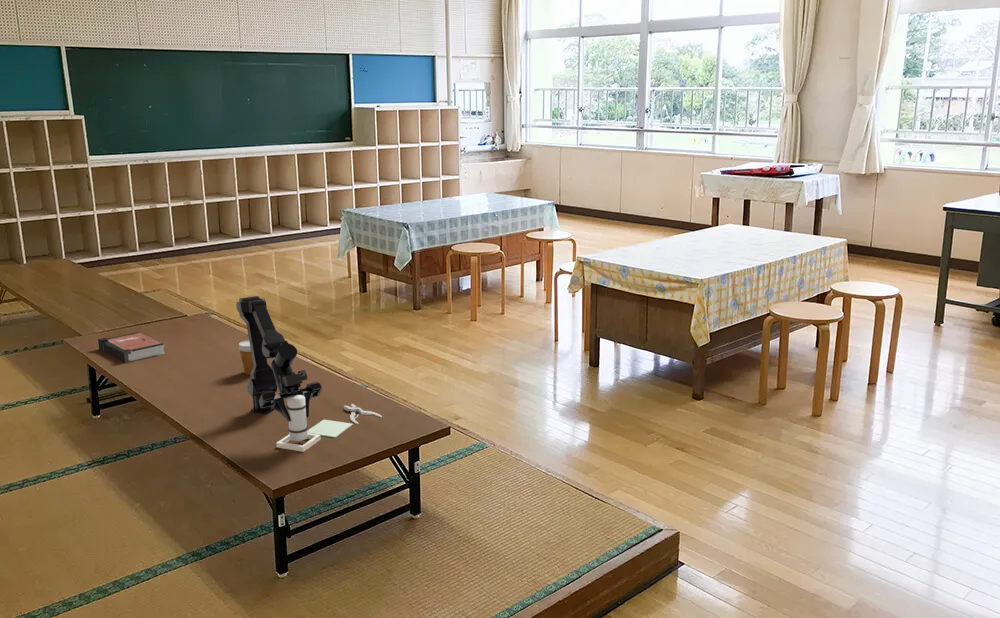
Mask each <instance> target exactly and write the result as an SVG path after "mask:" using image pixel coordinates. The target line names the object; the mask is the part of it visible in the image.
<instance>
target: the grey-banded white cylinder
mask: <svg viewBox="0 0 1000 618" xmlns="http://www.w3.org/2000/svg"><path fill="white" fill-rule="evenodd" d="M286 403H287V404H286V408H287V411H288V413H289V416H290V420H291V421H290V422H288V429H287V430H288V435H289V436H290V441H292V442H301V441H305V440H306V439H307V437H308V436H307V431H308V430H309V429H308V424H307V420H308V419H307V417H306V403H305V397H304V396H302V395H293V396H290V397H288V398H286ZM307 440H308V439H307Z"/></svg>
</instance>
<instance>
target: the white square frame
mask: <svg viewBox="0 0 1000 618" xmlns="http://www.w3.org/2000/svg"><path fill="white" fill-rule="evenodd" d="M307 436H308V437H307V440H308V441H307V442H305V443H304V444H303V445H302V444H297V443H296V444H295V443H290V441H291V440H290V436H289V434H288V435H286V436H284V437H283V438H282V439H280V440H278V441H276V448H280V449H285V450H291V451H297V452H303V453H304V452H306V451H307V450H308V449H310V448H311V447H312V446H314V445H315V444H317V443H318V442H320V441H321V439H322V437H321V435H317V434H311V433H307Z"/></svg>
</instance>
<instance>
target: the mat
mask: <svg viewBox="0 0 1000 618" xmlns="http://www.w3.org/2000/svg"><path fill="white" fill-rule="evenodd" d="M353 426H354V423H350V422H343V421H335V420H330V419H322V420H321V421H319V422H318V423H316V424H314V425H313V426H312V427H311V428H309V429H307V433H311V434H317V435H321V436H323V437H330V438H335V439H336V438H337V437H339V436H340V435H342V434H343V433H344V432H346V431H347V430H348V429H349V428H350V427H353Z"/></svg>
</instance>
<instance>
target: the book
mask: <svg viewBox="0 0 1000 618" xmlns="http://www.w3.org/2000/svg"><path fill="white" fill-rule="evenodd" d="M97 342H98V343H97V344H98V350H99V351H100V352H105V353H107V354H108V355H110V356H113V357H115V358H117V359H119V360H120V361H121V362H122V363H124V364H127V363H132V362H136V361H141V360H145V359H150V358H154V357H157V356H163V355H166V354H167V353H166V352H165V347H166V344H165V343H162V342H160V341H158V340H156V339H154V337H153V336H147V335H144V334H143V333H141V332H138V331H137V332H132V333H128V334H123V335H117V336H113V337H108V338H107V337H102V338H97Z"/></svg>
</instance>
